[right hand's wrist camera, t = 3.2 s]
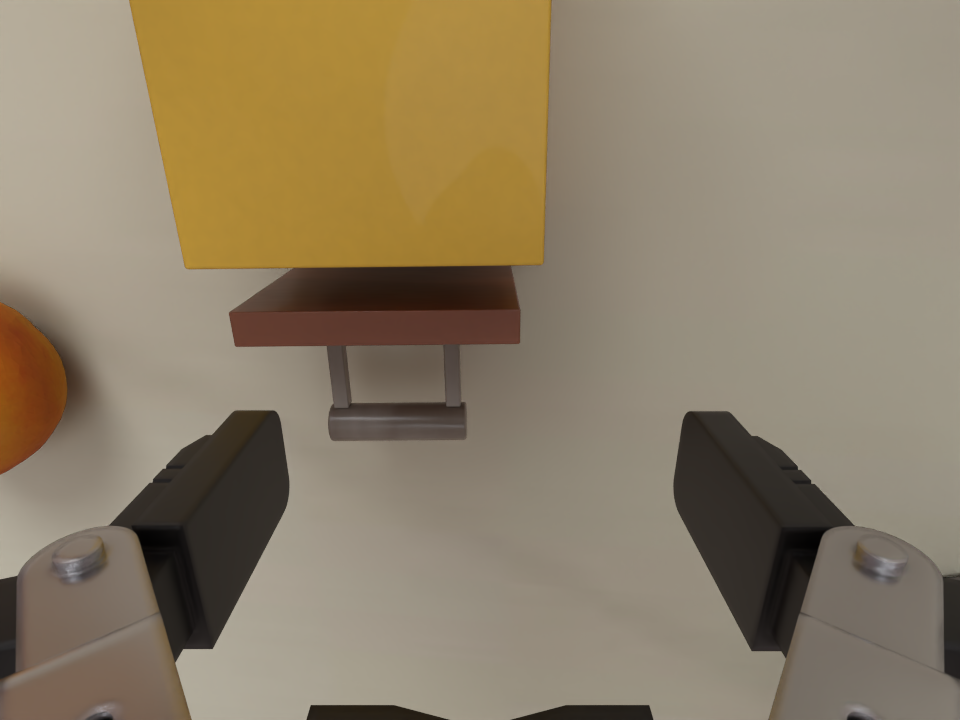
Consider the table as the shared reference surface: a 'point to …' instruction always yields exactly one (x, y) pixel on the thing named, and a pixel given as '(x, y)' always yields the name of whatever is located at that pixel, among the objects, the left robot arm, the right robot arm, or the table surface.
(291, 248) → the cabinet
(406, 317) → the drawer
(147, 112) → the table surface
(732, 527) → the right robot arm
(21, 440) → the fruit
